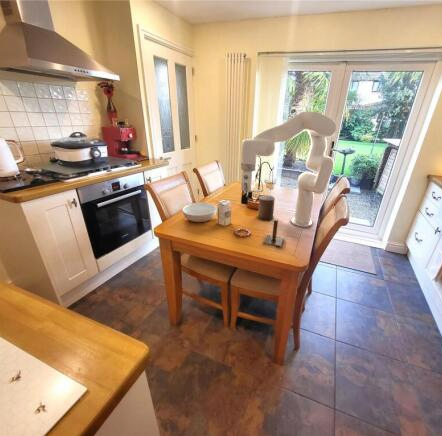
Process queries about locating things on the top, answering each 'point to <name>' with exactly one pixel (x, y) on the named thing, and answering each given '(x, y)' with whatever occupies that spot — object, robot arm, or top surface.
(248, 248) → the top surface
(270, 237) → the post
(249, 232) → the ring
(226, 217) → the syrup box
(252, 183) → the robot arm
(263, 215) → the pillar candle
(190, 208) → the serving bowl
